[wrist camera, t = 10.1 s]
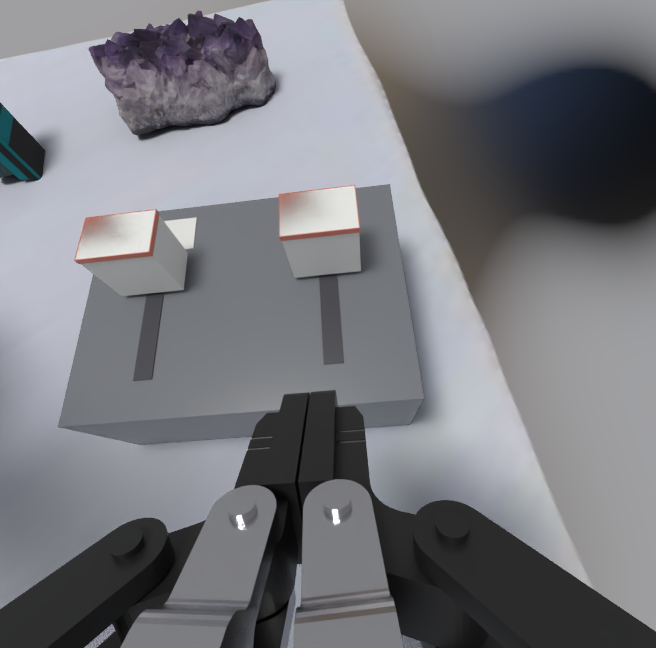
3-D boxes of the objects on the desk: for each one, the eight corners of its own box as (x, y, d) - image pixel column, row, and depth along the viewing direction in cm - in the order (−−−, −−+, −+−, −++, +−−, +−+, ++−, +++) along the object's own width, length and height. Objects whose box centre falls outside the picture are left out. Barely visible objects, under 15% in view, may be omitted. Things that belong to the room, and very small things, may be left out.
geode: (270, 56, 51) (254, -32, 42) (283, 124, 48) (268, 45, 38) (120, 82, 51) (69, -1, 41) (122, 152, 48) (66, 80, 38)
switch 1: (184, 290, 26) (149, 252, 22) (120, 296, 26) (74, 260, 22) (188, 252, 27) (156, 209, 23) (127, 258, 27) (85, 217, 23)
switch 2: (361, 271, 25) (359, 228, 21) (293, 278, 25) (279, 237, 21) (357, 233, 26) (355, 185, 22) (293, 240, 27) (278, 194, 23)
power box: (409, 424, 30) (424, 398, 22) (139, 444, 31) (56, 426, 23) (385, 253, 36) (389, 183, 28) (163, 277, 38) (105, 216, 30)
